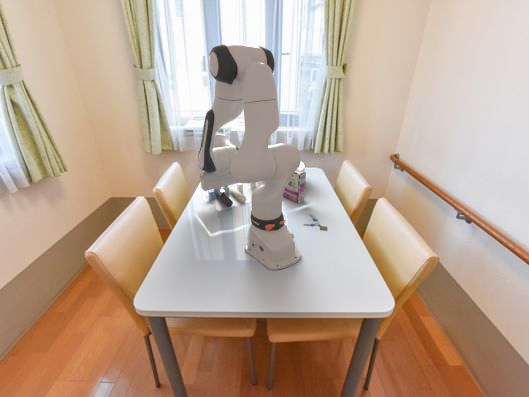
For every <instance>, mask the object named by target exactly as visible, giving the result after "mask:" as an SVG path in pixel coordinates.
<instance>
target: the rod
mask: <svg viewBox="0 0 529 397" xmlns="http://www.w3.org/2000/svg"><path fill="white" fill-rule="evenodd" d="M228 187H229V191H230V192H231V193H232V194H233V195H234V196H235V197H236V198H237V199H238V200H240V201H241V202H245V201H246V197H245V196H244V195H242V194H241V193H240V192H239V191H238V190H236V189H237V188H235V187H234V186H231V185H230V186H228Z"/></svg>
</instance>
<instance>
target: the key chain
mask: <svg viewBox="0 0 529 397" xmlns="http://www.w3.org/2000/svg"><path fill="white" fill-rule="evenodd" d="M310 217H312V223H303V226H310V227H314V226H316V227H319V231H325V232H328V230H329V229H328V226H327V225H326V226H324V225H321V224H320V222H319V220H318V219H317V218H315V217H314V216H313V214H310ZM314 222H315V223H314Z"/></svg>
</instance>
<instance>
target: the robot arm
mask: <svg viewBox="0 0 529 397" xmlns="http://www.w3.org/2000/svg"><path fill="white" fill-rule="evenodd" d="M209 52H210V53H209V55H208V68H209V72H210V74H211V76H212V77H213V79H214V80H215V83H214V84H215V86H214V100H213V103H212V106H211V108H210V109H209V110H208V111H207V112H206V113H205V117H204V122H203V127H202V128H203V129H202V135H201V142H200V147H199V151H198V155H197V162H198V167H199V169H200V170H201V171H202V172H201V173H200V174H199V179H200V187H201V189H202V190H203V191H204V192H206V191H210V190H214V189H216V188H217V189H218V190H219V194H220V195H223V194H226V190H227V188H228V187H229V186H231V185H235V184H236V185H237V184H239V183H242V184H250V183H256V182H260V181H261V182H260V184H259V185H258V186H257V185H256V188H255V189H254V190H253V192H252V196H251V201H252V202H251V210H250V222H251V224H250V226H249V229H248V232H247V244H246V245H245V247H244V251H245V252H246V253H247V254H248V255H250V256H251V257H252V258H254V259H255V260H257V261H258V262H260V264H262V265H264V267H266V268H267V269H269V271H270V270H271V271H276V270H282V269H285V268H288V267H291V266H292V265H295V263H298V262H299V261H300V259H301V258H302V253H301V251H300V250H299V249H298V248H297V247H296V243H295V239H294V238H295V234H294V233H293V232H290V231H289V229H288V225H286V224H285V223H286V219H284V217H285V216H284V212H283V210H282V207H283V198H284V196H283V193H284V190H285V187H286V185H287V182H288V180H289V179H290V177H291V175H292V174H293V173H294V172H295V171H296V170H297V169H298V167H299V166H300V163H301V162H302V156H301V152H300V150H299V149H298V147H297V146H296V145H294V144H293V143H281V142H280V143H276V144H271V145H269V141H270V138H271V136H272V135H273V133H275V132H277V130H278V129H279V127H280V122H281V121H280V111H279V100H278V90H277V86H276V81H275V76H274V71H275V66H276V65H275V63H276V62H275V57H274V54H273V52H272V51H271V50H270V48H267V47H264V46H260V45H259V46H253V45H244V44H227V45H225V44H219V45H215V46H214V47H212V48H211V50H210V51H209ZM242 113H243V119H244V135H243V139H242V142H241V144H240V147H237V146H236V145H234V144H232V143H231V141H229V138H228V135H227V134H225V133H217V132H218V131H219V130H220V129H221V128H223V127H224V126H225V125H227V124H229V123H231V122H233V121H234V120H236V119H238V118H239V117H240V115H241V114H242ZM223 187H224V189H223Z"/></svg>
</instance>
